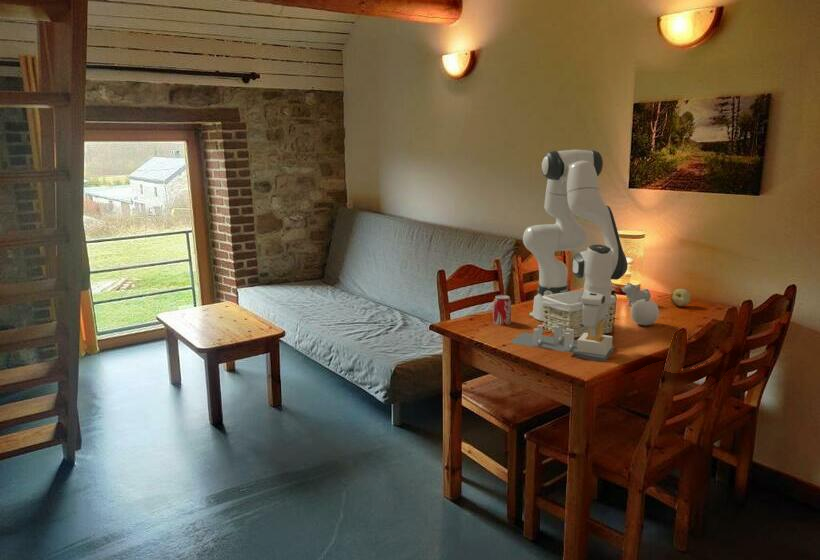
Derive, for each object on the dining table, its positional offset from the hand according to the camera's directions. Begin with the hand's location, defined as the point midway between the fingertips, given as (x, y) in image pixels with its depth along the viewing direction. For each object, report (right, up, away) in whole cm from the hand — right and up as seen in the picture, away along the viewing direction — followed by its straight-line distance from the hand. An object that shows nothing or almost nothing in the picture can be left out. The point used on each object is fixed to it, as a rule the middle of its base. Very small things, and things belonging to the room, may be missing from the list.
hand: (595, 333), depth 204 cm
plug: (-1, -3, +2) cm, 4 cm away
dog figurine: (+37, +6, +61) cm, 71 cm away
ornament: (+29, 0, +33) cm, 44 cm away
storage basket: (+1, -2, +25) cm, 25 cm away
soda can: (-26, 0, +35) cm, 44 cm away
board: (-10, -6, +7) cm, 14 cm away
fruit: (+55, +6, +59) cm, 81 cm away
